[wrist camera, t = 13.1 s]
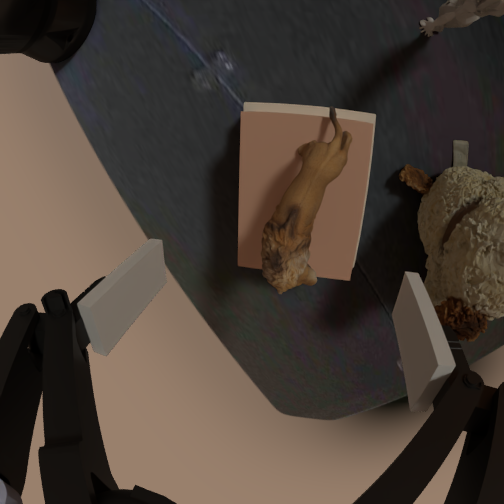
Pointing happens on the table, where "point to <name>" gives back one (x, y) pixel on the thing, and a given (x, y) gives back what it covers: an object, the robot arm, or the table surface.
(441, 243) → the dog
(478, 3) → the human figurine
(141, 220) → the table surface
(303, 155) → the lion figurine
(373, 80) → the table surface
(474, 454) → the robot arm
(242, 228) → the stacked block pedestal
